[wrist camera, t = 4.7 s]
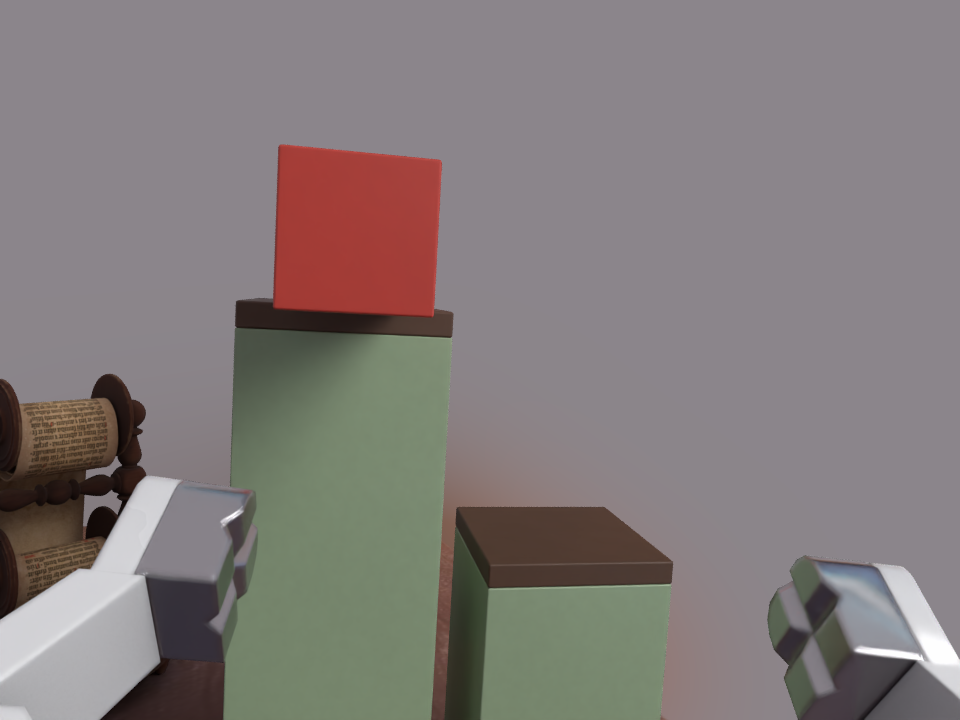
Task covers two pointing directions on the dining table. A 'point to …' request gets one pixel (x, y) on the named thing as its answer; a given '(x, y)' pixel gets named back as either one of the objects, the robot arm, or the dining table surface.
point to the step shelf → (414, 548)
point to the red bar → (356, 232)
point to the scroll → (61, 484)
